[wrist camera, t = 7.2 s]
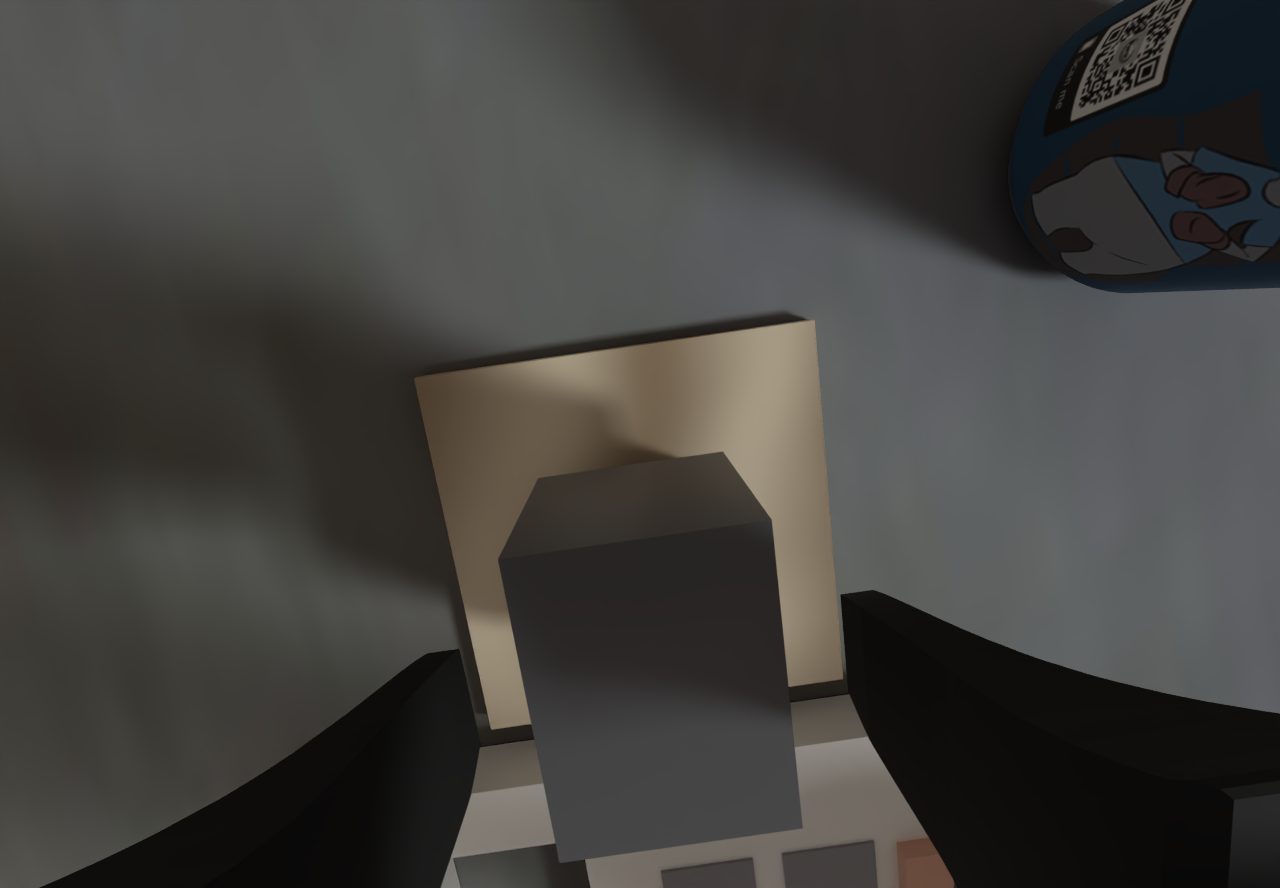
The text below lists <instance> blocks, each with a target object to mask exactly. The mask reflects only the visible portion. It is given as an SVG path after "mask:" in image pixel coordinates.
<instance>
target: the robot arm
mask: <svg viewBox="0 0 1280 888" xmlns="http://www.w3.org/2000/svg"><path fill="white" fill-rule="evenodd" d="M841 607H842V619H843V632H844V644H845V657H846V670H847V682H848V693H849V695H850V697H851V700H852V702H853V704H854V707H855V709H856V711H857V714H858V716H859V718H860V720H861V723H862V725H863V727H864V729H865V731H866V733H867V736H868V738H869V740H870V742H871V743H872V745H873V747H874V749H875V750H876V752H877V754H878V755H879V757H880V759H881V760H882V762H883V764H884V765H885V767H886V769H887V770H888V772H889V774H890V775H891V777H892V779H893V780H894V782H895V783H896V785H897V787H898V788H899V790H900V792H901V793H902V795H903V796H904V798H905V800H906V801H907V803H908V805H909V806H910V808H911V809H912V811H913V813H914V814H915V816H916V818H917V819H918V821H919V823H920V824H921V826H922V827H923V829H924V831H925V832H926V834H927V836H928V837H929V839H930V840H931V842H932V844H933V845H934V847H935V849H936V850H937V852H938V853H939V855H940V857H941V859H942V861H943V862H944V864H945V866H946V868H947V869H948V871H949V873H950V875H951V877H952V878H953V880H954V882H955V884H956V886H957V888H1280V714H1279V713H1272V712H1265V711H1259V710H1253V709H1247V708H1241V707H1235V706H1229V705H1223V704H1217V703H1212V702H1206V701H1201V700H1196V699H1191V698H1186V697H1181V696H1175V695H1171V694H1166V693H1162V692H1157V691H1153V690H1149V689H1145V688H1140V687H1136V686H1132V685H1128V684H1123V683H1119V682H1115V681H1111V680H1108V679H1104V678H1100V677H1096V676H1093V675H1089V674H1086V673H1082V672H1079V671H1076V670H1073V669H1070V668H1066V667H1063V666H1060V665H1057V664H1053V663H1050V662H1047V661H1044V660H1041V659H1038V658H1035V657H1032V656H1029V655H1026V654H1024V653H1021V652H1018V651H1016V650H1013V649H1010V648H1008V647H1005V646H1003V645H1000V644H998V643H995V642H992V641H990V640H987V639H985V638H982V637H980V636H978V635H975V634H973V633H970V632H968V631H966V630H963V629H961V628H959V627H957V626H954V625H952V624H950V623H948V622H945V621H943V620H941V619H939V618H937V617H934V616H932V615H930V614H928V613H926V612H923V611H921V610H919V609H917V608H915V607H913V606H910V605H908V604H906V603H904V602H902V601H899V600H897V599H895V598H893V597H890V596H888V595H886V594H883V593H881V592H878V591H875V590H870V591H863V592H856V593H849V594H842V595H841ZM480 745H481V744H480V739H479V735H478V730H477V726H476V721H475V717H474V712H473V708H472V704H471V699H470V695H469V690H468V686H467V681H466V677H465V672H464V668H463V663H462V659H461V655H460V650H459V649H455V650H448V651H441V652H434V653H427V654H426V655H424V656H422V657H421V658H419V659H418V660H416V661H415V662H413V663H412V664H411V665H409V666H408V667H406V668H405V669H404V670H402V671H401V672H400V673H399V674H397V675H396V676H395V677H393V678H392V679H391V680H390V681H388V682H387V683H386V684H385V685H383V686H382V687H381V688H379V689H378V690H377V691H376V692H374V693H373V694H372V695H370V696H369V697H368V698H367V699H365V700H364V701H363V702H361V703H360V704H359V705H358V706H356V707H355V708H354V709H353V710H351V711H350V712H349V713H347V714H346V715H345V716H343V717H342V718H341V719H339V720H338V721H337V722H335V723H334V724H332V725H331V726H330V727H328V728H327V729H326V730H324V731H323V732H321V733H320V734H319V735H317V736H316V737H315V738H313V739H312V740H310V741H309V742H308V743H306V744H305V745H304V746H302V747H301V748H299V749H298V750H297V751H295V752H294V753H292V754H291V755H289V756H288V757H286V758H285V759H284V760H282V761H280V762H279V763H277V764H276V765H274V766H273V767H271V768H270V769H268V770H267V771H265V772H264V773H262V774H260V775H259V776H257V777H255V778H254V779H252V780H251V781H249V782H247V783H246V784H244V785H242V786H241V787H239V788H238V789H236V790H234V791H233V792H231V793H229V794H228V795H226V796H224V797H222V798H221V799H219V800H217V801H215V802H213V803H212V804H210V805H208V806H206V807H204V808H202V809H200V810H199V811H197V812H195V813H193V814H191V815H189V816H188V817H186V818H184V819H182V820H180V821H178V822H177V823H175V824H173V825H171V826H169V827H167V828H165V829H164V830H162V831H160V832H158V833H156V834H154V835H152V836H150V837H148V838H146V839H144V840H142V841H140V842H138V843H136V844H134V845H132V846H130V847H128V848H126V849H124V850H122V851H120V852H118V853H116V854H113V855H111V856H109V857H107V858H105V859H103V860H101V861H98V862H96V863H94V864H92V865H90V866H87V867H85V868H83V869H81V870H79V871H76V872H74V873H72V874H70V875H68V876H65V877H63V878H61V879H59V880H56V881H54V882H52V883H49V884H47V885H45V886H42V887H40V888H441V885H442V882H443V879H444V876H445V873H446V870H447V867H448V864H449V861H450V858H451V855H452V852H453V850H454V847H455V844H456V841H457V838H458V834H459V831H460V828H461V825H462V822H463V819H464V816H465V813H466V810H467V807H468V803H469V800H470V797H471V792H472V788H473V783H474V778H475V773H476V767H477V762H478V756H479V750H480Z"/></svg>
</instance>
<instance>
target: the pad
mask: <svg viewBox="0 0 1280 888" xmlns="http://www.w3.org/2000/svg"><path fill="white" fill-rule="evenodd" d="M414 382H415V386H416V391H417V395H418V400H419V404H420V409H421V413H422V418H423V422H424V427H425V432H426V436H427V441H428V445H429V450H430V454H431V459H432V463H433V468H434V472H435V477H436V481H437V486H438V490H439V495H440V500H441V504H442V509H443V513H444V518H445V522H446V527H447V531H448V536H449V540H450V545H451V549H452V554H453V559H454V563H455V568H456V572H457V577H458V581H459V586H460V590H461V595H462V599H463V604H464V608H465V613H466V617H467V622H468V627H469V631H470V636H471V640H472V645H473V649H474V654H475V658H476V663H477V667H478V672H479V676H480V681H481V685H482V690H483V695H484V699H485V704H486V708H487V713H488V717H489V722H490V726H491V730H493V729H500V728H507V727H514V726H521V725H527V724H531V720H530V715H529V711H528V706H527V701H526V696H525V691H524V686H523V681H522V676H521V671H520V666H519V661H518V656H517V651H516V647H515V642H514V637H513V632H512V627H511V622H510V617H509V612H508V607H507V602H506V597H505V592H504V588H503V583H502V578H501V573H500V568H499V563H498V558H499V556H500V554H501V552H502V550H503V548H504V546H505V544H506V542H507V540H508V538H509V536H510V534H511V532H512V530H513V528H514V526H515V524H516V522H517V520H518V518H519V516H520V514H521V512H522V510H523V508H524V506H525V504H526V502H527V500H528V498H529V496H530V494H531V492H532V490H533V488H534V486H535V484H536V482H537V480H538V478H541V477H548V476H555V475H562V474H569V473H576V472H583V471H590V470H597V469H604V468H611V467H618V466H625V465H632V464H639V463H646V462H653V461H660V460H667V459H674V458H680V457H687V456H694V455H701V454H708V453H715V452H722V451H723V452H724V454H725V455H726V456H727V458H728V459H729V461H730V462H731V463H732V465H733V466H734V468H735V469H736V470H737V472H738V473H739V475H740V476H741V477H742V479H743V480H744V482H745V483H746V484H747V486H748V487H749V489H750V490H751V491H752V493H753V494H754V496H755V497H756V498H757V500H758V501H759V503H760V504H761V505H762V507H763V508H764V510H765V511H766V512H767V514H768V515H769V517H770V518H771V519H772V526H773V536H774V546H775V556H776V566H777V576H778V586H779V596H780V606H781V616H782V625H783V635H784V645H785V655H786V665H787V675H788V685H789V687H792V686H798V685H805V684H812V683H819V682H826V681H833V680H840V679H843V671H842V658H841V646H840V633H839V621H838V608H837V596H836V583H835V570H834V558H833V545H832V533H831V520H830V508H829V495H828V482H827V470H826V457H825V445H824V432H823V420H822V407H821V395H820V382H819V369H818V357H817V344H816V332H815V320H802V321H795V322H788V323H781V324H774V325H767V326H761V327H754V328H747V329H740V330H733V331H726V332H719V333H712V334H705V335H699V336H692V337H685V338H678V339H671V340H664V341H657V342H650V343H643V344H637V345H630V346H623V347H616V348H609V349H602V350H595V351H588V352H581V353H574V354H568V355H561V356H554V357H547V358H540V359H533V360H526V361H519V362H512V363H506V364H499V365H492V366H485V367H478V368H471V369H464V370H457V371H450V372H443V373H437V374H430V375H423V376H419V377H416V378H414Z"/></svg>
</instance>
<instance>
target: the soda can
mask: <svg viewBox="0 0 1280 888" xmlns="http://www.w3.org/2000/svg"><path fill="white" fill-rule="evenodd" d="M1008 179H1009V191H1010V197H1011V202H1012V205H1013V209H1014V212H1015V214H1016V217H1017V219H1018V221H1019V223H1020V225H1021V227H1022V229H1023V230H1024V232H1025V234H1026V235H1027V237H1028V239H1029V240H1030V241H1031V243H1032V244H1033V245H1034V247H1035V248H1036V249H1037V250H1038V252H1039V253H1040V254H1041V255H1042V256H1043V257H1044V258H1045V259H1046V260H1047V261H1048V262H1049V263H1050V264H1051V265H1052V266H1054V267H1055V268H1056V269H1057V270H1059V271H1060V272H1062V273H1063V274H1065V275H1066V276H1068V277H1070V278H1072V279H1073V280H1075V281H1077V282H1080V283H1082V284H1084V285H1087V286H1090V287H1093V288H1096V289H1100V290H1105V291H1110V292H1118V293H1144V292H1172V291H1200V290H1228V289H1256V288H1280V0H1124V1H1122V2H1120V3H1119V4H1117V5H1115V6H1114V7H1112V8H1111V9H1109V10H1107V11H1106V12H1104V13H1102V14H1101V15H1099V16H1098V17H1096V18H1095V19H1093V20H1092V21H1090V22H1089V23H1088V24H1086V25H1085V26H1084V27H1083V28H1081V29H1080V30H1079V31H1078V32H1077V33H1076V34H1075V35H1073V36H1072V37H1071V38H1070V39H1069V40H1068V41H1067V42H1066V43H1065V44H1064V45H1063V46H1062V47H1061V48H1060V50H1059V51H1058V52H1057V53H1056V54H1055V55H1054V57H1053V58H1052V59H1051V60H1050V62H1049V63H1048V65H1047V66H1046V67H1045V69H1044V70H1043V72H1042V73H1041V75H1040V76H1039V78H1038V79H1037V81H1036V83H1035V85H1034V87H1033V88H1032V90H1031V92H1030V94H1029V96H1028V98H1027V100H1026V103H1025V105H1024V107H1023V110H1022V112H1021V115H1020V118H1019V121H1018V124H1017V127H1016V131H1015V134H1014V139H1013V143H1012V148H1011V154H1010V160H1009V174H1008Z"/></svg>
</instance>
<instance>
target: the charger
mask: <svg viewBox="0 0 1280 888" xmlns="http://www.w3.org/2000/svg"><path fill="white" fill-rule="evenodd" d="M498 563H499V568H500V573H501V578H502V583H503V588H504V592H505V597H506V602H507V607H508V612H509V617H510V622H511V627H512V632H513V637H514V642H515V647H516V651H517V656H518V661H519V666H520V671H521V676H522V681H523V686H524V691H525V696H526V701H527V706H528V711H529V715H530V720H531V725H532V730H533V735H534V740H535V745H536V750H537V755H538V760H539V765H540V770H541V774H542V779H543V784H544V789H545V794H546V799H547V804H548V809H549V814H550V819H551V824H552V829H553V833H554V838H555V843H556V848H557V853H558V858H559V863H564V862H571V861H578V860H585V859H592V858H599V857H606V856H613V855H620V854H627V853H634V852H641V851H648V850H655V849H662V848H669V847H676V846H683V845H690V844H697V843H704V842H711V841H718V840H725V839H732V838H739V837H746V836H753V835H760V834H767V833H774V832H781V831H788V830H795V829H802V828H803V825H802V815H801V805H800V795H799V785H798V775H797V765H796V755H795V745H794V735H793V725H792V715H791V705H790V695H789V685H788V675H787V665H786V655H785V645H784V635H783V625H782V616H781V606H780V596H779V586H778V576H777V566H776V556H775V546H774V536H773V526H772V519H771V518H770V517H769V515H768V514H767V512H766V511H765V510H764V508H763V507H762V505H761V504H760V503H759V501H758V500H757V498H756V497H755V496H754V494H753V493H752V491H751V490H750V489H749V487H748V486H747V484H746V483H745V482H744V480H743V479H742V477H741V476H740V475H739V473H738V472H737V470H736V469H735V468H734V466H733V465H732V463H731V462H730V461H729V459H728V458H727V456H726V455H725V454H724V452H723V451H722V452H715V453H708V454H701V455H694V456H687V457H680V458H674V459H667V460H660V461H653V462H646V463H639V464H632V465H625V466H618V467H611V468H604V469H597V470H590V471H583V472H576V473H569V474H562V475H555V476H548V477H541V478H538V480H537V482H536V484H535V486H534V488H533V490H532V492H531V494H530V496H529V498H528V500H527V502H526V504H525V506H524V508H523V510H522V512H521V514H520V516H519V518H518V520H517V522H516V524H515V526H514V528H513V530H512V532H511V534H510V536H509V538H508V540H507V542H506V544H505V546H504V548H503V550H502V552H501V554H500V556H499V558H498Z"/></svg>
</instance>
